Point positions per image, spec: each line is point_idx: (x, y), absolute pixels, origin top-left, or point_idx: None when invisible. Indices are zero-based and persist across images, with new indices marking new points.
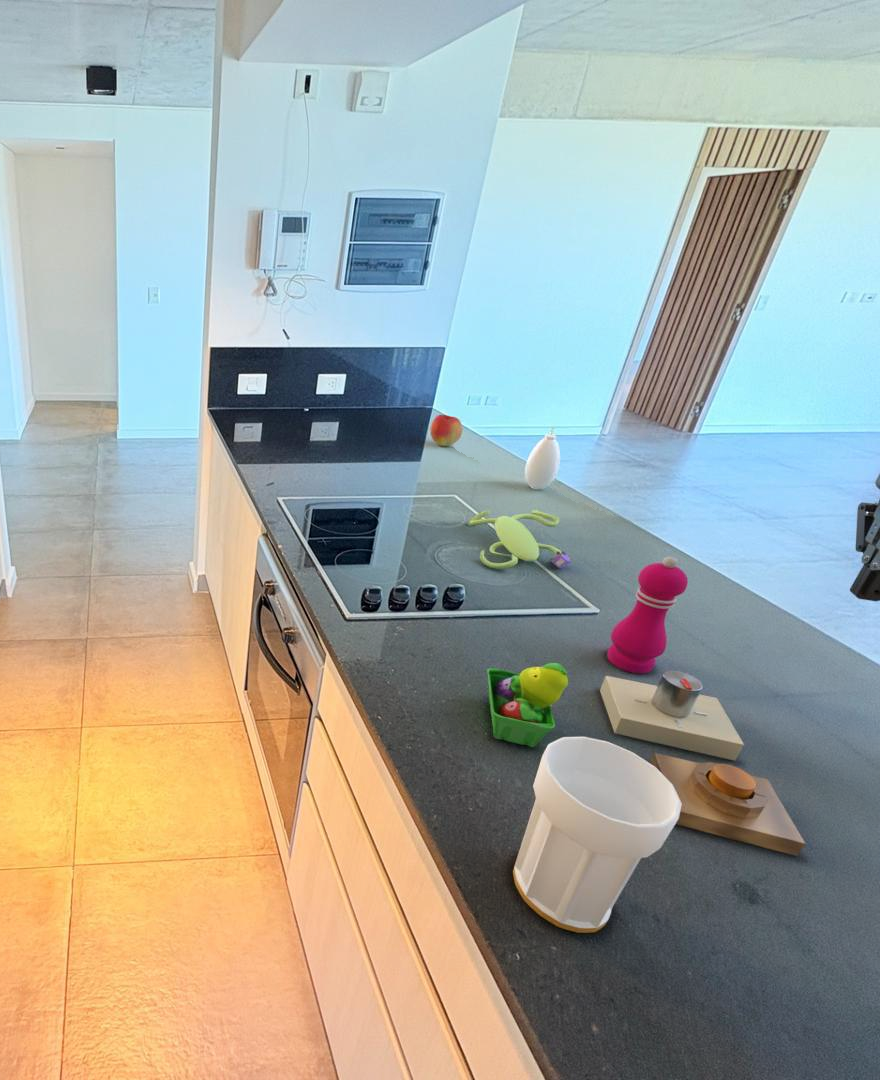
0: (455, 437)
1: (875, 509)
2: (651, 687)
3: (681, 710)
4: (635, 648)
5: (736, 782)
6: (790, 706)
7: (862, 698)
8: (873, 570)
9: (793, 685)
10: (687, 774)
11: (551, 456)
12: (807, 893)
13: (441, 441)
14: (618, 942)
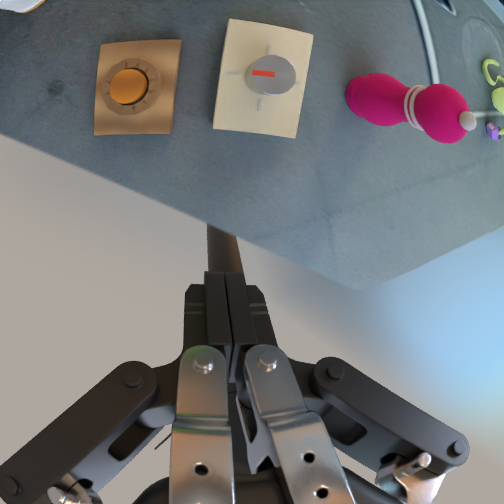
0: None
1: (422, 476)
2: (300, 74)
3: (246, 76)
4: (363, 83)
5: (117, 85)
6: (313, 217)
7: (329, 274)
8: (191, 347)
9: (342, 234)
10: (153, 61)
11: None
12: (67, 128)
13: None
14: (11, 20)
